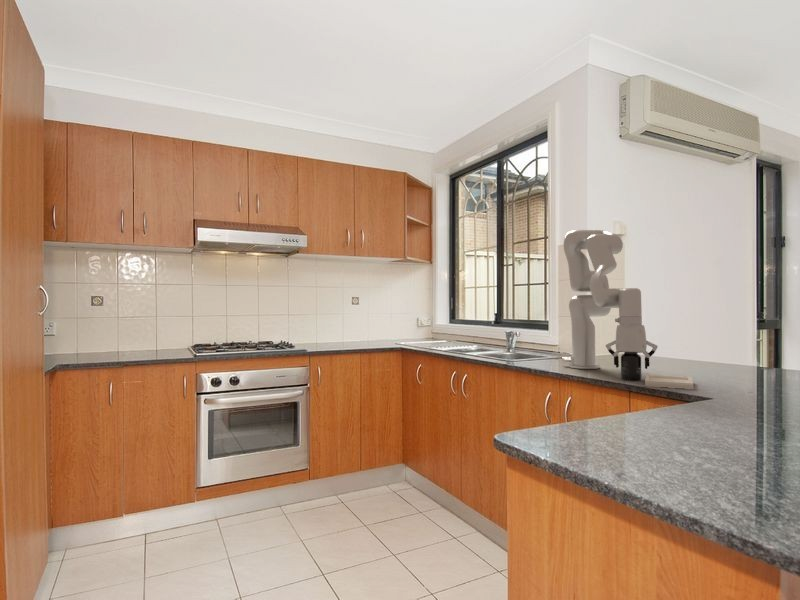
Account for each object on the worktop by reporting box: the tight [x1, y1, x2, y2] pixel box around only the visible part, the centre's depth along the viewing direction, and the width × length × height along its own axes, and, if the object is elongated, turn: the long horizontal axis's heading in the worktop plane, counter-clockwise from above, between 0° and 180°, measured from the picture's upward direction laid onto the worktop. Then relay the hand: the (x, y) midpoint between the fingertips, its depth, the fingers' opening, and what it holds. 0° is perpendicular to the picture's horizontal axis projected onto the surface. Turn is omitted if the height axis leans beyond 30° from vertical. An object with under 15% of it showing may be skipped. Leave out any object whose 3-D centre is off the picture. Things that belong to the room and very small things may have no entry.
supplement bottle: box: [620, 352, 642, 382], centre depth 175 cm, size 7×7×12 cm
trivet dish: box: [644, 374, 694, 390], centre depth 164 cm, size 14×14×2 cm
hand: (631, 367), depth 175 cm, fingers open, 9 cm apart
